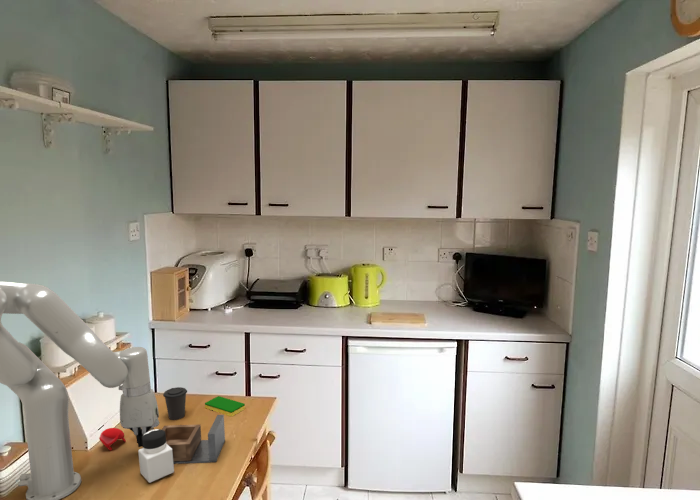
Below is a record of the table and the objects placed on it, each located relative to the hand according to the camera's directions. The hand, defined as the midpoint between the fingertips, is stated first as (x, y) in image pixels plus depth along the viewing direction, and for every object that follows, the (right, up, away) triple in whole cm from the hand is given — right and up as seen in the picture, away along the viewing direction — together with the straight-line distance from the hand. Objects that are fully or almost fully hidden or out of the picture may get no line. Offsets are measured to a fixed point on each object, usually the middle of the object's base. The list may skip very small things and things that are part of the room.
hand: (143, 444), depth 140 cm
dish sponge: (+17, 0, +29) cm, 34 cm away
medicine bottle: (+9, -4, -10) cm, 14 cm away
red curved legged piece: (-12, -3, +5) cm, 13 cm away
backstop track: (+13, -3, 0) cm, 13 cm away
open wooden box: (+11, -3, 0) cm, 11 cm away
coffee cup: (+2, 0, +23) cm, 23 cm away
